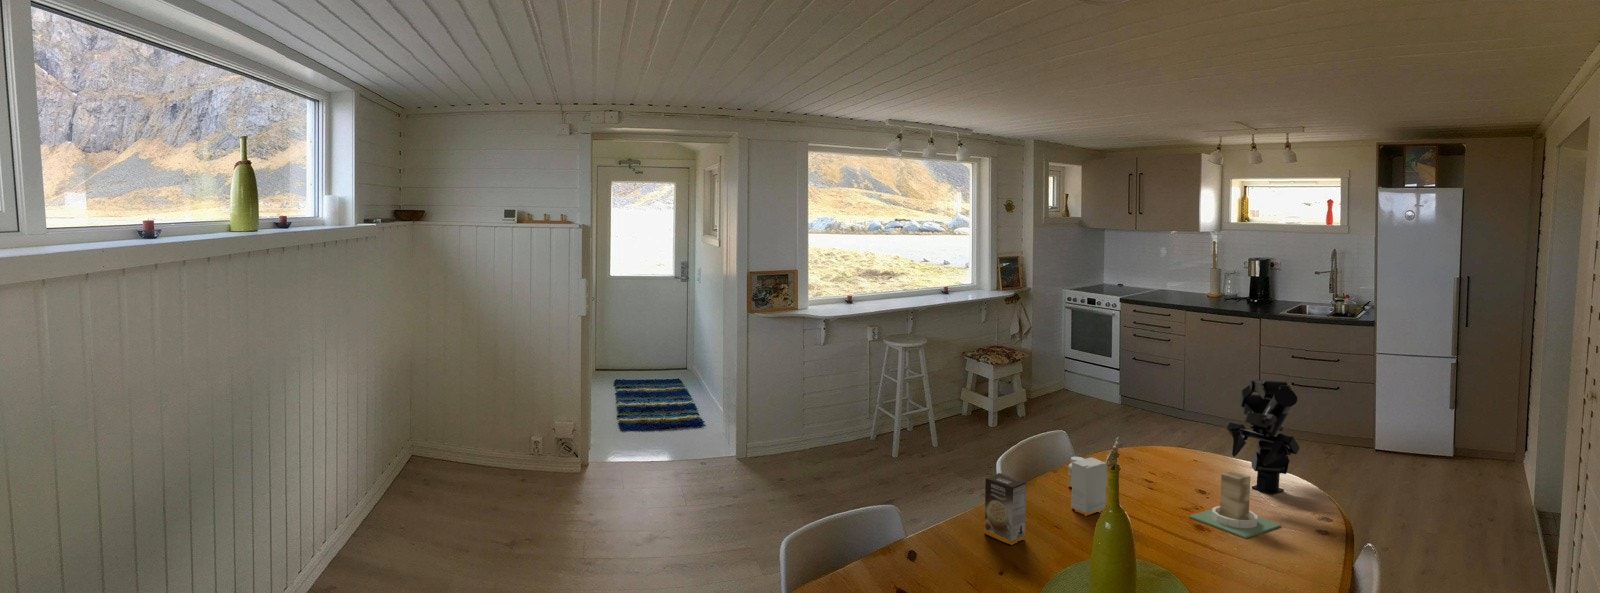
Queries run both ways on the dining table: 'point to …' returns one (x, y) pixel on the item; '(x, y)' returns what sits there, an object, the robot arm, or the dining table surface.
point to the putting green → (1235, 523)
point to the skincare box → (1088, 485)
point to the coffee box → (1005, 506)
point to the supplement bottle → (1073, 459)
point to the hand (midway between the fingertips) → (1248, 460)
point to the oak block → (1235, 495)
